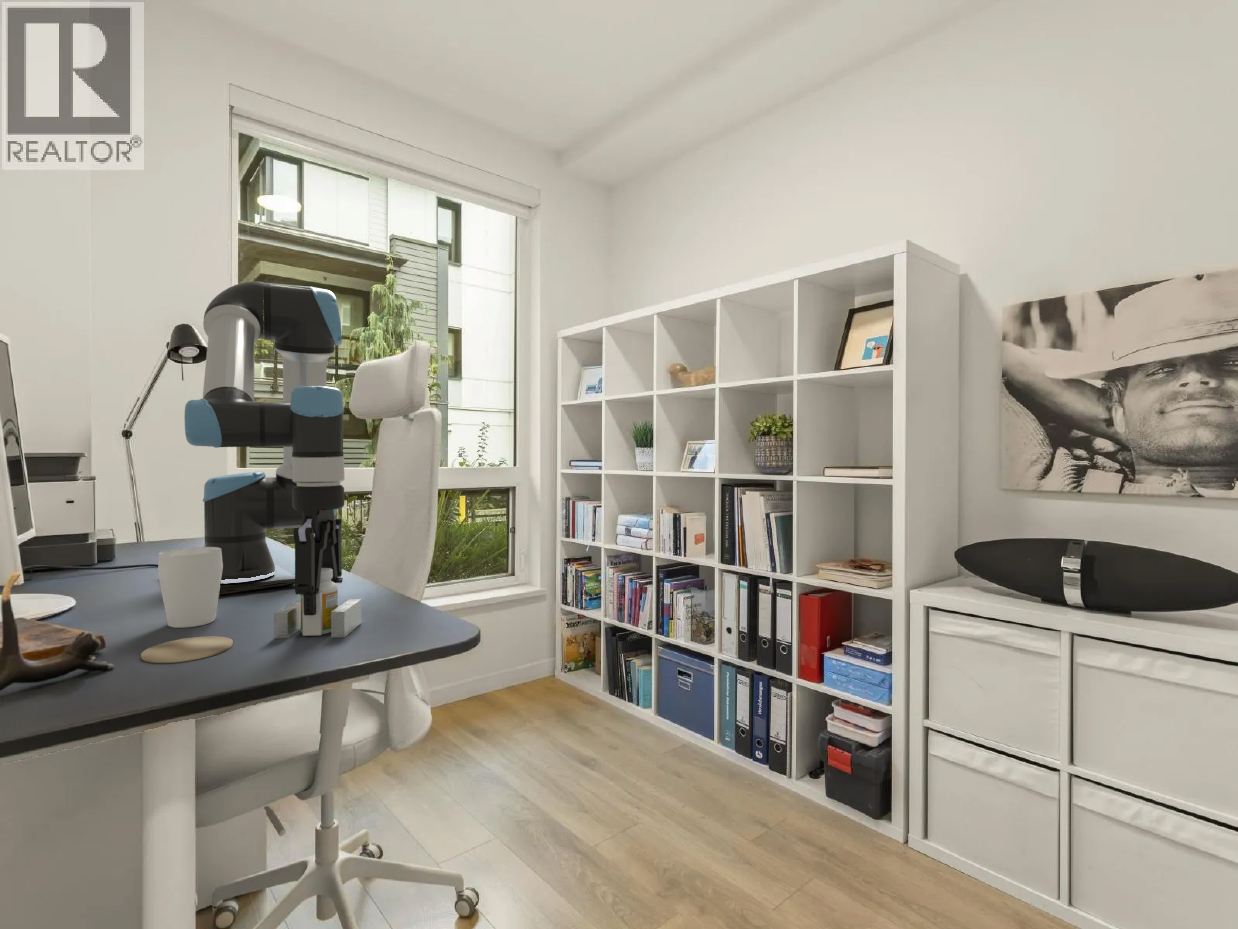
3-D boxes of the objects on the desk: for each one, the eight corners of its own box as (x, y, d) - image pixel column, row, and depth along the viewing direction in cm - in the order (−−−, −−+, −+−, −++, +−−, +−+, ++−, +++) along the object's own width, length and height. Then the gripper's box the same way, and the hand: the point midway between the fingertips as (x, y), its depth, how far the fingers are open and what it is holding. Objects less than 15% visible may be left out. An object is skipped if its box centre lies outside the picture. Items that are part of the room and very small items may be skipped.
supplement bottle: (293, 633, 101) (292, 572, 101) (319, 624, 107) (318, 566, 106) (320, 637, 100) (319, 574, 99) (345, 627, 105) (344, 568, 105)
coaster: (172, 639, 98) (172, 636, 98) (247, 638, 99) (247, 635, 99) (121, 664, 87) (121, 661, 87) (206, 662, 88) (206, 659, 88)
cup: (192, 632, 102) (190, 556, 102) (144, 628, 104) (143, 554, 104) (236, 617, 111) (235, 547, 111) (192, 614, 113) (190, 545, 113)
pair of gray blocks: (296, 624, 107) (296, 600, 107) (361, 623, 108) (361, 599, 107) (274, 638, 99) (273, 612, 99) (344, 637, 100) (344, 611, 99)
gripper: (317, 481, 111) (319, 614, 112) (266, 488, 93) (269, 647, 94) (361, 481, 112) (363, 613, 113) (320, 487, 94) (322, 646, 94)
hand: (320, 628), depth 103 cm, fingers closed on supplement bottle, 5 cm apart
